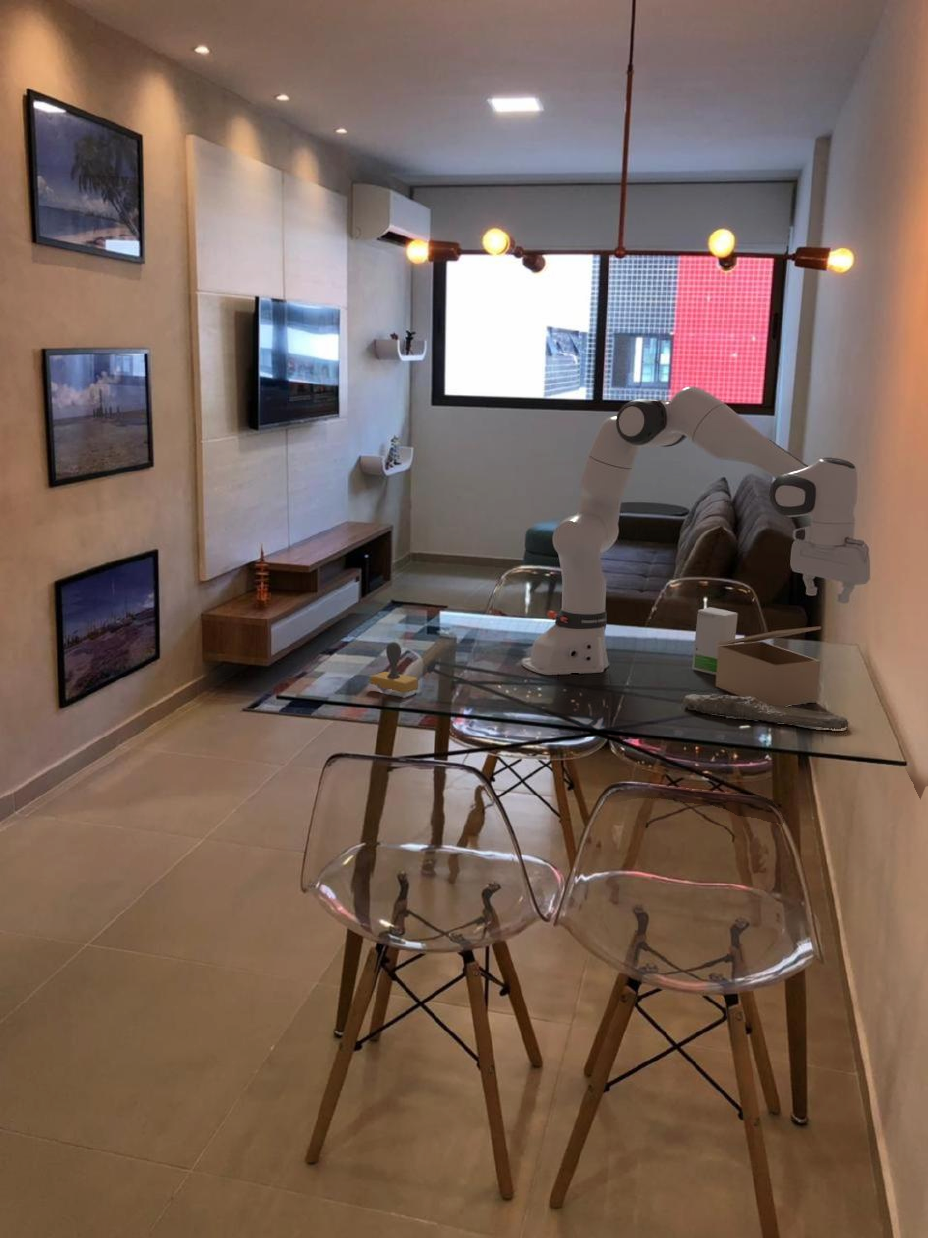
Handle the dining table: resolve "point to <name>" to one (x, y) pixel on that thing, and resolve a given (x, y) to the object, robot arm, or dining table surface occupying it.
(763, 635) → the lid flap
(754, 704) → the long grey stone
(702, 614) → the skincare box
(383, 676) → the rubber stamp
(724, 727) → the dining table surface
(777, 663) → the carton
